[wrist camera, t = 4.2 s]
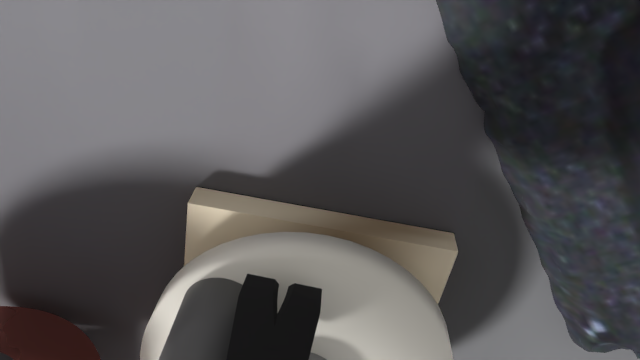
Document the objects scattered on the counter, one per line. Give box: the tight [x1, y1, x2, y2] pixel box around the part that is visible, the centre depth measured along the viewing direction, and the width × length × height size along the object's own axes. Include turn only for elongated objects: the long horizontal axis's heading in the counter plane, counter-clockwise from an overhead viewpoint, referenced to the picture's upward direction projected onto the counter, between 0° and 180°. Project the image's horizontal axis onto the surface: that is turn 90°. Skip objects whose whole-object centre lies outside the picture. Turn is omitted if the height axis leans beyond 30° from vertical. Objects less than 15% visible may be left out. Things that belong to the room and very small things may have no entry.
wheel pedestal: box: [184, 187, 458, 304], centre depth 16 cm, size 7×7×2 cm
